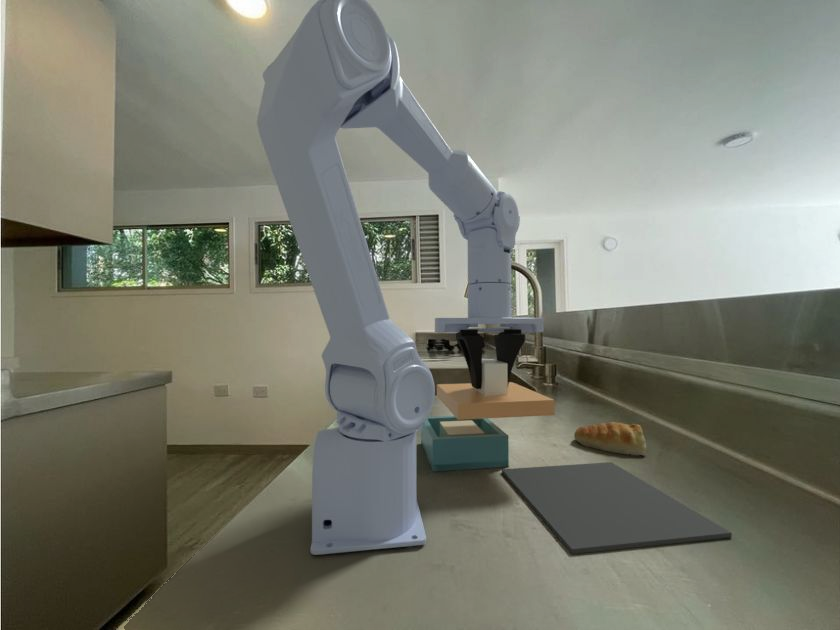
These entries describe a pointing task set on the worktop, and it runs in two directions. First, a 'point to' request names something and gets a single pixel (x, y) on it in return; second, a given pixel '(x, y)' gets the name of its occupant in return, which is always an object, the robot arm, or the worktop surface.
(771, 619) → the worktop surface
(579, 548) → the mat
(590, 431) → the pastry
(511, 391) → the lid
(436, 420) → the box
